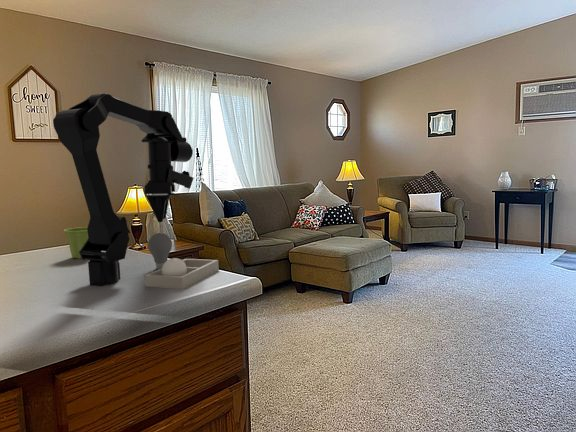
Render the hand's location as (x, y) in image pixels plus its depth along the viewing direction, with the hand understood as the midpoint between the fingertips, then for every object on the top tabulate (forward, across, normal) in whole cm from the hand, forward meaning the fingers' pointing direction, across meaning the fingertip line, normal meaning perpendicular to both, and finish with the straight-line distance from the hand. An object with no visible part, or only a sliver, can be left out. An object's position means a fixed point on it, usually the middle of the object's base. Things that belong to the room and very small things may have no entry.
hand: (162, 220), depth 116 cm
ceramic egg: (+12, -20, -4) cm, 24 cm away
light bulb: (+13, -5, 0) cm, 14 cm away
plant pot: (+13, +22, +26) cm, 36 cm away
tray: (+13, -16, -6) cm, 22 cm away
